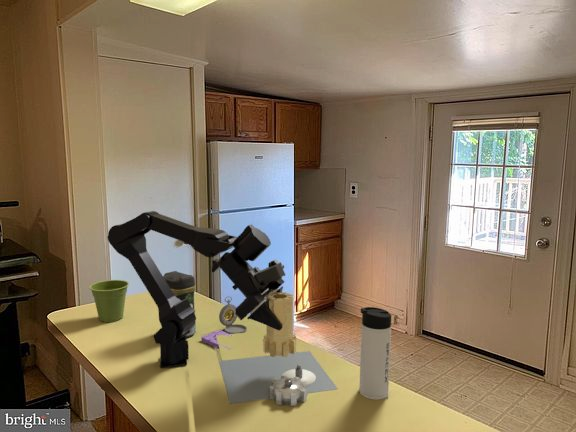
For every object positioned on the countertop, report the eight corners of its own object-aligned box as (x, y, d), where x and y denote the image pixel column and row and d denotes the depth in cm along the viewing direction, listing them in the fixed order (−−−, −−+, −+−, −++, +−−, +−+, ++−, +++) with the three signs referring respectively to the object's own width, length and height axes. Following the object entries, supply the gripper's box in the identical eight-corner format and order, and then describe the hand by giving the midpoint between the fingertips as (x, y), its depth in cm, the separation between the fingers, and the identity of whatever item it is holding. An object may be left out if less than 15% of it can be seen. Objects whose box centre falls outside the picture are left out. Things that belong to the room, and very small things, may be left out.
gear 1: (261, 356, 98) (261, 301, 96) (264, 342, 105) (264, 291, 104) (295, 357, 98) (296, 301, 96) (296, 343, 105) (296, 291, 104)
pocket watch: (242, 336, 127) (243, 303, 126) (215, 334, 129) (215, 301, 127) (250, 326, 135) (250, 295, 134) (225, 324, 137) (225, 293, 135)
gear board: (230, 409, 90) (230, 390, 89) (218, 365, 109) (218, 349, 108) (337, 393, 96) (338, 376, 96) (309, 355, 115) (309, 340, 115)
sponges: (219, 335, 129) (219, 329, 129) (248, 347, 121) (248, 341, 121) (200, 342, 124) (200, 336, 124) (230, 355, 116) (230, 349, 115)
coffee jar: (158, 333, 128) (156, 272, 126) (180, 326, 135) (179, 267, 132) (178, 342, 122) (177, 278, 120) (200, 334, 129) (199, 273, 126)
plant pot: (85, 317, 140) (83, 284, 139) (121, 309, 148) (120, 277, 147) (98, 328, 132) (97, 292, 130) (136, 319, 140) (135, 285, 138)
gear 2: (274, 408, 88) (274, 393, 88) (265, 388, 96) (265, 374, 95) (312, 403, 90) (312, 387, 90) (300, 383, 98) (301, 369, 98)
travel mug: (354, 389, 98) (357, 304, 96) (383, 389, 99) (386, 304, 96) (361, 405, 92) (364, 314, 89) (391, 404, 93) (396, 314, 90)
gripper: (248, 259, 91) (298, 316, 89) (276, 244, 109) (319, 291, 107) (215, 292, 94) (262, 347, 92) (247, 272, 112) (288, 318, 110)
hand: (285, 323), depth 100 cm, fingers closed on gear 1, 6 cm apart
